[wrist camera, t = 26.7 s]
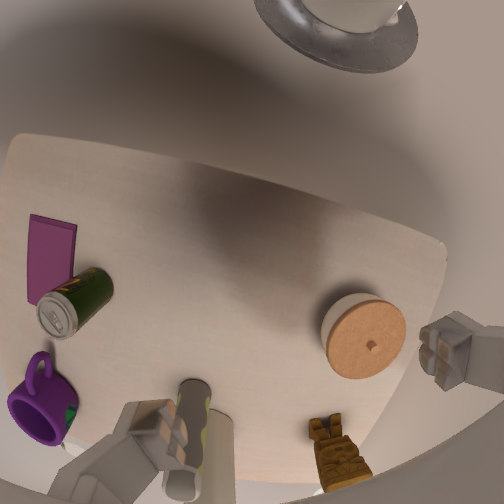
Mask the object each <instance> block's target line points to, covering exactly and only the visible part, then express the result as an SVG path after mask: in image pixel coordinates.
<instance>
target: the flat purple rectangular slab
mask: <svg viewBox="0 0 504 504" xmlns="http://www.w3.org/2000/svg"><path fill="white" fill-rule="evenodd" d="M76 231H77V225H75V224H71V223H66V222H62V221H58V220H54V219H50V218H46V217H42V216H37V215H33V214H30V221H29V233H28V251H27V298H28V302H29V303H30V304H33V305H35V306H37V304H38V302H39V301H40V300H41V298H42V297H43V296H44V294H46V293H48V292H49V291H51V290H53V289H54V288H56V287H58V286H59V285H61V284H63V283H64V282H66V281H68V280H70V279H71V278H73V264H74V251H75V240H76Z"/></svg>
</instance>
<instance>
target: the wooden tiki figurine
mask: <svg viewBox="0 0 504 504" xmlns="http://www.w3.org/2000/svg"><path fill="white" fill-rule="evenodd" d="M329 434H330V437H329ZM329 434H328V432H327V430H326V429H324V428H323V427H322V424H321V420H320V418H314V419H311V420H310V424H309V438H310V439H312V440H314V442H315V443H314V452H315V458H316V464H317V468H318V474H319V479H320V483H321V485H322V488H323V491H324V492H325V493H327V492H330V491H333V490H336V489H340V488H343V487H346V486H349V485H352V484H354V483H357V482H360V481H363V480H365V479H368V478H370V477H372V476H373V474H372V471H371V470H370V468H369V466H368V465H367V464H366V463H365V460H364V459H363V457H362V456H359V450H358V448H357V446H356V445H355V444H354V443H353V442H352V441H351V439H350V438H349V436H348V435H344V437H343V436H342V425H341V415H340V413H337V414H333V415H331V417H330V430H329Z"/></svg>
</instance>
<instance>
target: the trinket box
mask: <svg viewBox="0 0 504 504" xmlns="http://www.w3.org/2000/svg"><path fill="white" fill-rule="evenodd" d="M405 335H406V324H405V320H404V317H403V315H402V313H401V312H400V311H399V309H398V308H397V307H395V306H394V305H392V304H391V303H389V302H387V301H385V300H384V299H382V298H380V297H377V296H375V295H372V294H367V293H356V294H351V295H347V296H345V297H343V298H341V299H340V300H338V301H337V302H336V303H335V304H333V306H332V307H331V308H330V309H329V310H328V312H327V313H326V315H325V317H324V320H323V323H322V328H321V340H322V345H323V349H324V352H325V354H326V356H327V359H328V362H329V363H330V365H331V367H332V369H333V370H334V371H335V372H336V373H337V374H339V375H340V376H343V377H345V378H349V379H363V378H368V377H370V376H373V375H375V374H377V373H379V372H381V371H382V370H384V369H385V368H386V367H387V366H389V365H390V364H391V363H392V362H393V360H394V359H395V358H396V357H397V355H398V354H399V352H400V350H401V348H402V346H403V343H404V340H405Z"/></svg>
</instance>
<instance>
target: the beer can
mask: <svg viewBox="0 0 504 504" xmlns="http://www.w3.org/2000/svg"><path fill="white" fill-rule="evenodd" d="M112 290H113V289H112V282H111V280H110V278H109V277H108V276H107V274H106V273H104V272H103V271H101V270H99V269H96V268H90V269H87V270H85V271H84V272H82V273H80V274H78V275H76V276H75V277H73V278H71V279H70V280H68V281H66V282H64V283H63V284H61V285H59V286H58V287H56V288H54V289H53V290H51V291H49V292H48V293H46V294H44V296H43V297H42V298H41V300H40V301H39V302H38V304H37V308H36V313H37V318H38V322H39V324H40V326H41V328H42V329H43V330H44V331H45V333H46V334H48V335H49V336H50V337H51V338H54V339H56V340H64V339H67V338H69V337H72V336H73V335H74V334H75V333H76V332H77V331H78V330H79V329H80V328H81V327H82V326H83V325H84V324H85V323H86V322H87V321H88V320H89V319H91V318H92V317H93V316H94V315H95V314H96V313H97V312H98V311H99V310H100V309H101V308H102V307H103V306H104V305H105V304H106V303H108V302H109V301H110V299H111V296H112Z"/></svg>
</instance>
